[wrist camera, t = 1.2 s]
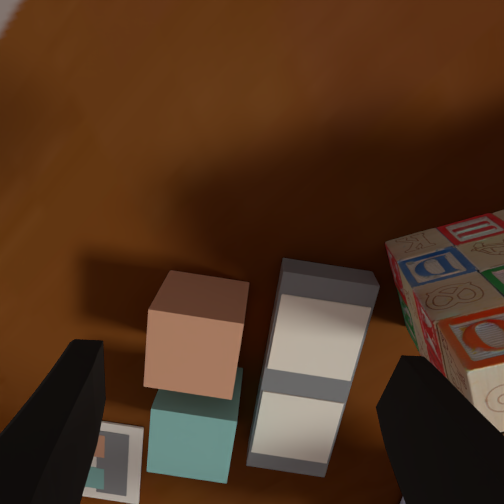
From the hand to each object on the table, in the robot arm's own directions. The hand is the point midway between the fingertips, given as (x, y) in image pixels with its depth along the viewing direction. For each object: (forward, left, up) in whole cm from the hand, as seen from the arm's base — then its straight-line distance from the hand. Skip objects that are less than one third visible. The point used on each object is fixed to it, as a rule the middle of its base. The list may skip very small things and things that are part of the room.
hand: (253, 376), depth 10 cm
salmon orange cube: (-8, +3, -16) cm, 18 cm away
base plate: (-11, -4, -15) cm, 19 cm away
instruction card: (-22, +9, -15) cm, 29 cm away
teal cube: (-14, +2, -16) cm, 21 cm away
